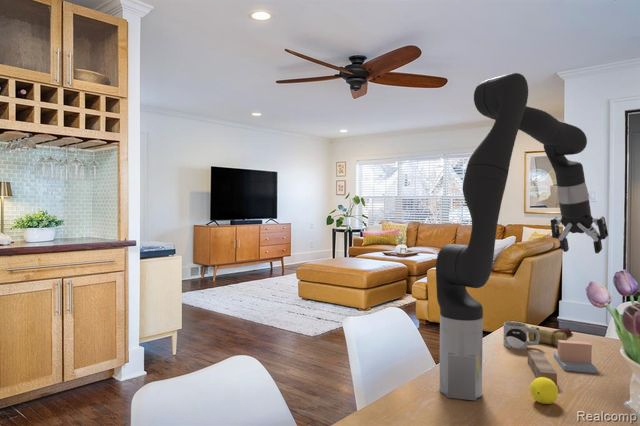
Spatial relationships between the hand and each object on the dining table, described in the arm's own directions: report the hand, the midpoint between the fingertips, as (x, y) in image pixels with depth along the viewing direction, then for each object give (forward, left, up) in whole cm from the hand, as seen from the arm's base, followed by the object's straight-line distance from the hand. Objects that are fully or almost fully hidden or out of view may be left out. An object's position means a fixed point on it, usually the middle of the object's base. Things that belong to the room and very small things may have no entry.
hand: (581, 251), depth 131 cm
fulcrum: (-14, +5, -29) cm, 33 cm away
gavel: (+12, +3, -30) cm, 32 cm away
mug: (-1, +16, -29) cm, 34 cm away
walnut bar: (-24, +15, -29) cm, 41 cm away
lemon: (-42, +18, -29) cm, 54 cm away
